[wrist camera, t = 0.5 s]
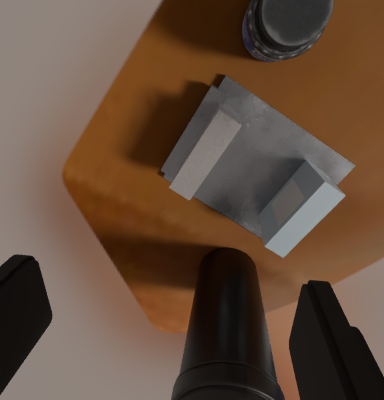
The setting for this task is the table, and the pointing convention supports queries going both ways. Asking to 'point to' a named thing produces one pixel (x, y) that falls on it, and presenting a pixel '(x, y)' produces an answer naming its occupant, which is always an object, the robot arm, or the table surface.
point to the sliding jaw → (298, 208)
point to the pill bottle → (284, 27)
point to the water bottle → (227, 335)
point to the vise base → (243, 154)
